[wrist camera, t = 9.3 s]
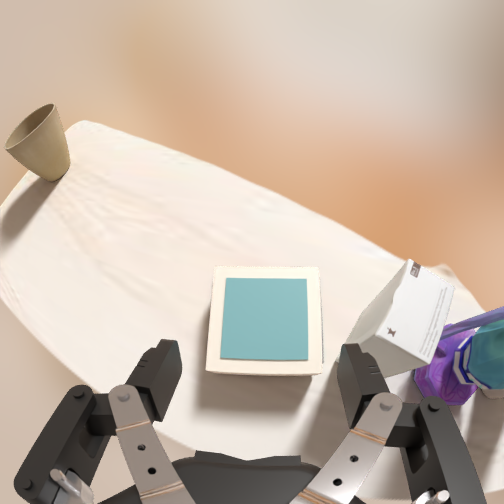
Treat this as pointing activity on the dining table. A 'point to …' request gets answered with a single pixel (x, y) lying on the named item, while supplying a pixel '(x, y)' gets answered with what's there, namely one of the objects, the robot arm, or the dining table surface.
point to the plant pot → (41, 143)
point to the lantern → (466, 359)
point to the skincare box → (404, 320)
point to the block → (265, 321)
